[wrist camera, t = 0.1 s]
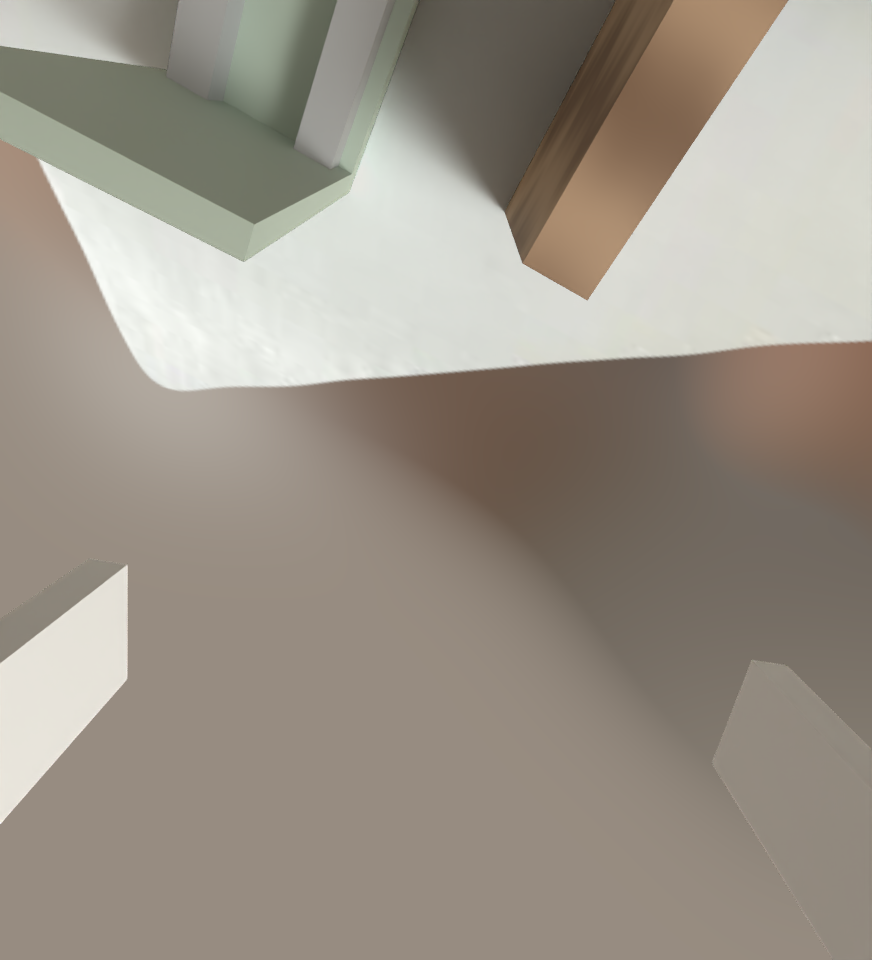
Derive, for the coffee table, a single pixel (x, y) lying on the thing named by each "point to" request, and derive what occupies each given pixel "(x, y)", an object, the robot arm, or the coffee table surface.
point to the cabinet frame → (218, 114)
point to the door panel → (628, 128)
